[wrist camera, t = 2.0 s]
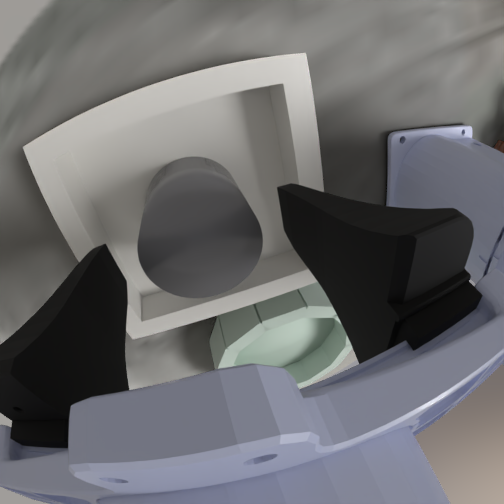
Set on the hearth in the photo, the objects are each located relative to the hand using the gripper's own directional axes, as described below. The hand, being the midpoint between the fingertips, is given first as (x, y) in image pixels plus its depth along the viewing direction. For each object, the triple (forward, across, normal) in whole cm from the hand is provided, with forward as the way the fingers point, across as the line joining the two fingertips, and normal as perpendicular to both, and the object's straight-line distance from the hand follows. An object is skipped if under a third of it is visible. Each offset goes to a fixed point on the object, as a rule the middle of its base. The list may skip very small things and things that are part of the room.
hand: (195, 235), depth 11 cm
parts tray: (+4, 0, 0) cm, 4 cm away
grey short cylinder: (+3, 0, 0) cm, 3 cm away
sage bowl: (+4, -3, +13) cm, 14 cm away
